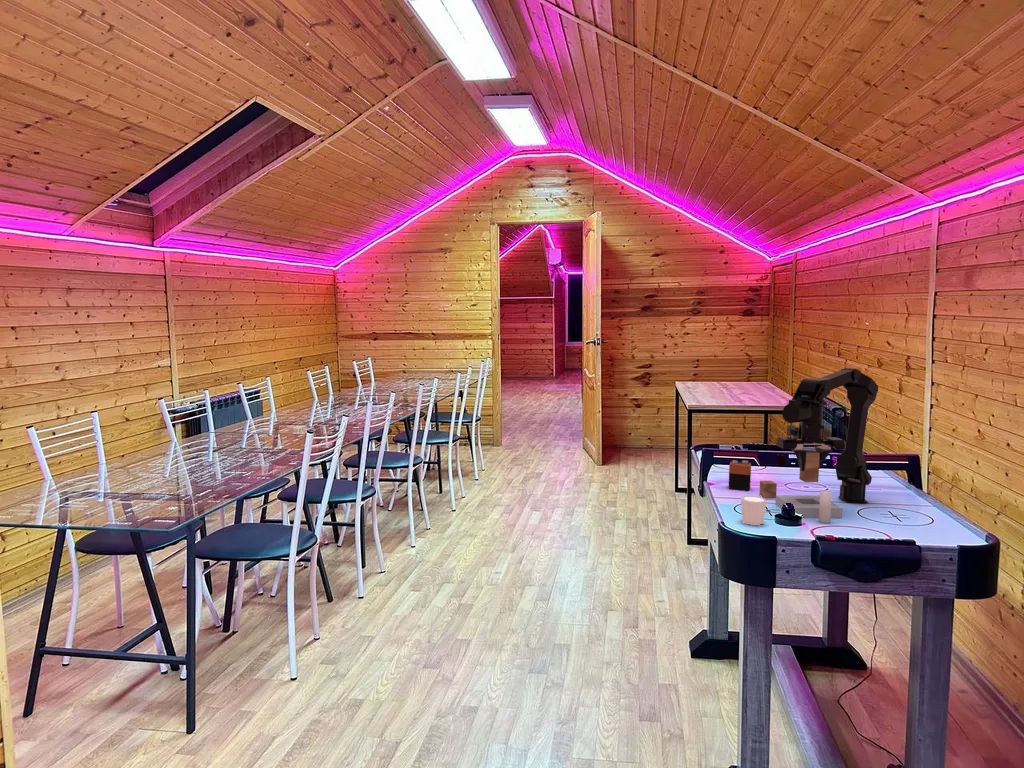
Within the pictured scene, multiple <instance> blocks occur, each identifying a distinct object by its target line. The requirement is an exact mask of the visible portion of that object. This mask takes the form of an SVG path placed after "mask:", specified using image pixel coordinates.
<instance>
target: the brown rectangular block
mask: <svg viewBox="0 0 1024 768" xmlns="http://www.w3.org/2000/svg"><path fill="white" fill-rule="evenodd" d="M805 450H806V449H805ZM819 458H820V453H818V452H816V450H811V449H809V450H806V455H805V467H804V471H801V469H800V468H799V477H798V478H799V480H800V481H802V482H804V483H819V478H820V477H819V476H820V475H819V474H820V473H819V472H820V469H819Z"/></svg>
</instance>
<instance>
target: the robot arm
mask: <svg viewBox="0 0 1024 768" xmlns="http://www.w3.org/2000/svg"><path fill="white" fill-rule="evenodd" d="M840 387H843V388H844V389H845V391H846V398H847V400H848V402H849V404H850V412H849V419H848V423H847V424H848V426H847V430H846V431H847V433H846V440H844V439H842V438H839V437H834V436H830V437H829V436H828V437H827V436H826V437H824V438H822V435H823V434H822V430H824V429H825V425H824V424H823V416H824V415H823V414H824V413H823V412H824V411H823V410H824V406H827V405H828V402H827V401H826V400H824V399H825V398H826V397H828V396H829V395H830V394H831V391H832V390H836V389H838V388H840ZM878 392H879V385H878V384H877V383H876V381H875V380H874V379H872V378H871V377H870V376H868V375H866V374H865V373H862V371H861V370H860V369H858V368H851V367H844V368H841V369H840V370H837V371H835V372H832V373H829V374H827V375H824V376H822V377H810V378H803V379H801V381H800V383H799V384H798V386H797V388H796V390H795V392H794V394H793V396H792V398H791V399H788V404H786V405H785V406H784V407H783V409H782V411H781V415H782V418H783V420H784V421H785V422H787V423H788V424H792V425H787V426H786V433H787V436H780V437H778V438H777V439H776V446H777V447H779V448H781V449H782V450H791V451H792V452H793V453H794V455H795V458H796V459H797V463H798V466H799V470H800V469H801V471H804V467H805V455H806V449H804V447H814V449H815V450H814V451H816V452H818V453H820V458H819V470H820V468H821V467H822V465H823V463H824V462H825V460H826V459H827V458H828V456H829V454H830V453H833V450H832V447H833V448H834V450H843V451H842V452H841V454H840V453H838V454H837V456H836V462H835V466H834V467H835V468H834V469H835V473H836V478H837V480H838V481H841V484H840V486H839V495H838V498H839V499H840V500H842V501H844V502H846V503H848V504H849V503H850V504H851V503H853V504H859V503H860V504H861V503H863V504H867V503H869V502H868V500H866V486H869V485H871V483H872V480H873V479H872V478H873V477H872V475H871V474H870V472H869V470H868V468H867V460H866V458H865V456H864V455H865V454H863V449H864V448H863V446H864V443H865V442H864V441H865V434H866V433H865V432H866V427H867V420H868V414H869V413H868V412H869V408H870V407H871V406H872V405H873V404H874V402H875V401H876V399H877V394H878ZM795 423H798V427H796V425H794V424H795Z"/></svg>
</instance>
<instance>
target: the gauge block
mask: <svg viewBox="0 0 1024 768" xmlns="http://www.w3.org/2000/svg"><path fill="white" fill-rule="evenodd" d="M832 494H833V492H832V491H831V490H826V489H824V490H823V489H822V490H821V489H820V490H819V495H814V494H811V495H810V494H809V495H808V494H804V495H803V494H793V495H792V494H788V495H787V494H776V498H775V505H776V506H777V507H779V508H780V509H781V508H782V506H783V504H785V503H792V504H793V506H794V509H795V512H796V513H797V514H802V515H803V517H804V519H806V518H807V519H809V518H810V519H814V518H815V519H818V523H821V524H824V523H825V524H827V525H828V523H829V524H830V523H831V519H842V517H843V507H841V506H839V505H837V504H836V503H834V502H833V501H832Z"/></svg>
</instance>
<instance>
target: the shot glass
mask: <svg viewBox="0 0 1024 768" xmlns="http://www.w3.org/2000/svg"><path fill="white" fill-rule="evenodd" d="M740 500H741V501H740V502H741V518H742V521H743V522H744V523H743V522H742V523H743V524H745V523H746V524H745V525H747V524H751V525H750V526H752V525H760V524H763V525H764V520H765V514H766V507H767V498H763V497H761V496H760V497H759V496H752V495H750V496H749V495H748V496H742V497H741V498H740ZM760 526H761V525H760Z"/></svg>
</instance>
